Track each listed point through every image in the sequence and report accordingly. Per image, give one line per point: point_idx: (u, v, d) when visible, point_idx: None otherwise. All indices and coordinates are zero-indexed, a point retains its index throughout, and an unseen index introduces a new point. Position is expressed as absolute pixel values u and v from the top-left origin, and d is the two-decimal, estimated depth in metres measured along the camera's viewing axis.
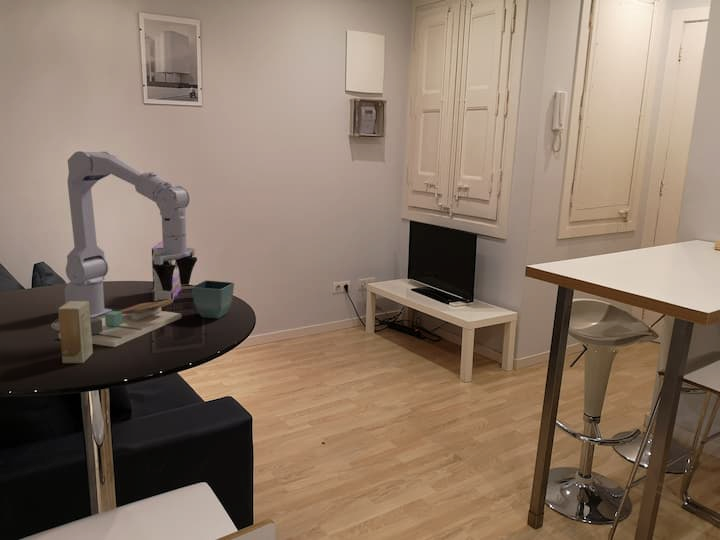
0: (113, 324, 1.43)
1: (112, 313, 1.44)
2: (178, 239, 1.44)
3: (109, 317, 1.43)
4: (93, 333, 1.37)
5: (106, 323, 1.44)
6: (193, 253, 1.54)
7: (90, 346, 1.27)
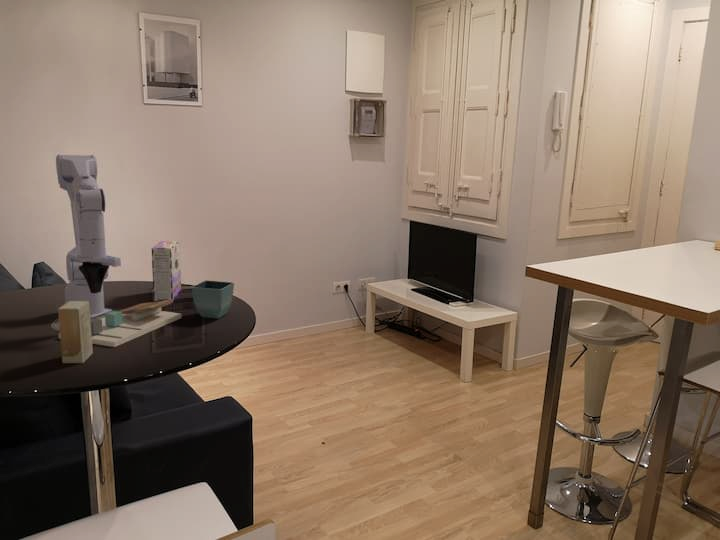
0: (113, 324, 1.43)
1: (112, 313, 1.44)
2: (79, 242, 1.41)
3: (109, 317, 1.43)
4: (93, 333, 1.37)
5: (106, 323, 1.44)
6: (113, 264, 1.40)
7: (90, 346, 1.27)
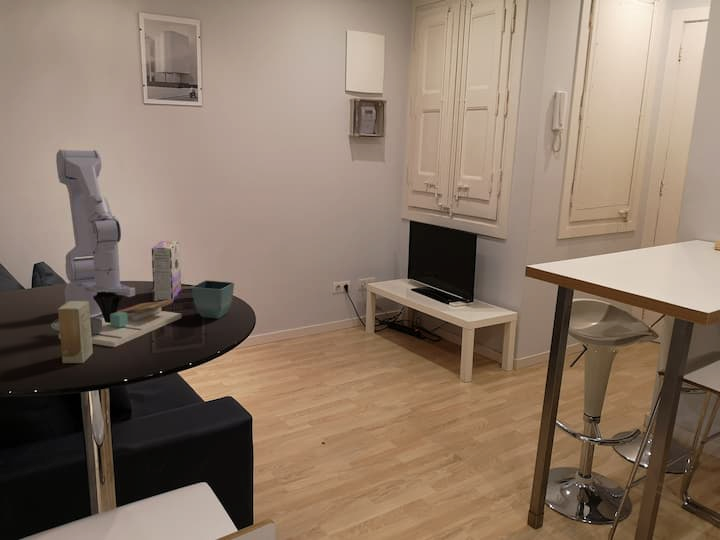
0: (118, 325, 1.43)
1: (117, 314, 1.43)
2: (94, 272, 1.41)
3: (114, 318, 1.43)
4: (93, 333, 1.37)
5: (111, 324, 1.43)
6: (127, 294, 1.41)
7: (90, 346, 1.27)
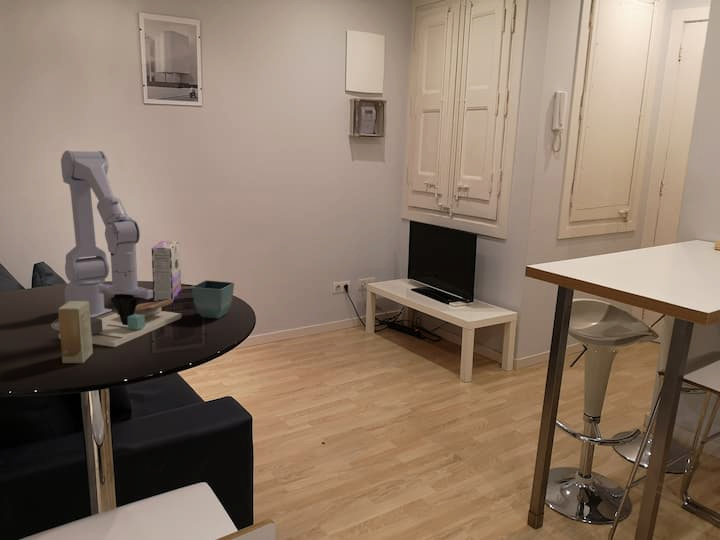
0: (136, 327, 1.41)
1: (135, 316, 1.42)
2: (112, 274, 1.39)
3: (132, 320, 1.41)
4: (93, 333, 1.37)
5: (129, 326, 1.42)
6: (145, 296, 1.39)
7: (90, 346, 1.27)
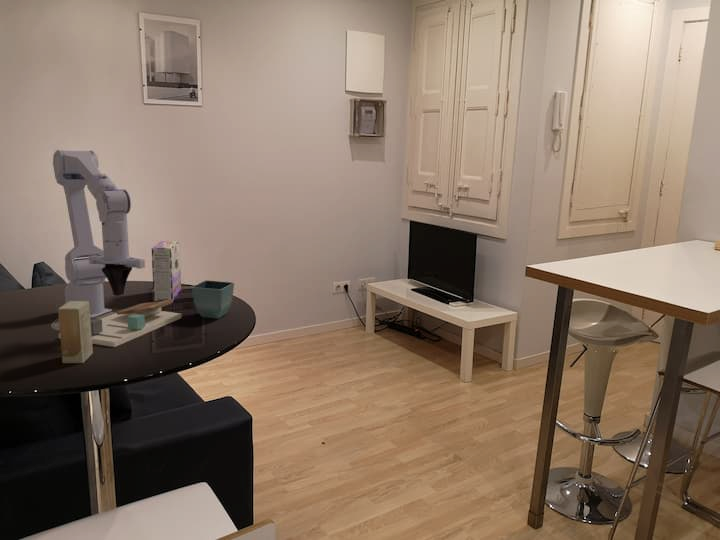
0: (136, 327, 1.41)
1: (135, 316, 1.42)
2: (103, 244, 1.39)
3: (132, 320, 1.41)
4: (93, 333, 1.37)
5: (129, 326, 1.42)
6: (137, 266, 1.39)
7: (90, 346, 1.27)
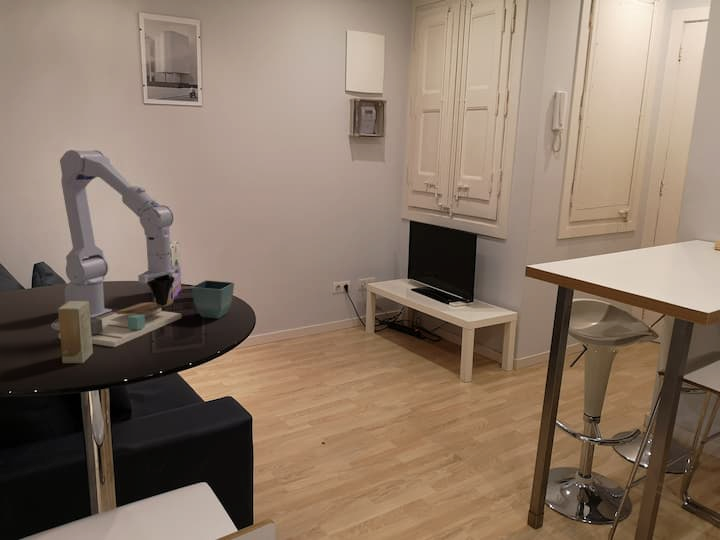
0: (136, 327, 1.41)
1: (135, 316, 1.42)
2: (162, 258, 1.47)
3: (132, 320, 1.41)
4: (93, 333, 1.37)
5: (129, 326, 1.42)
6: (178, 270, 1.56)
7: (90, 346, 1.27)
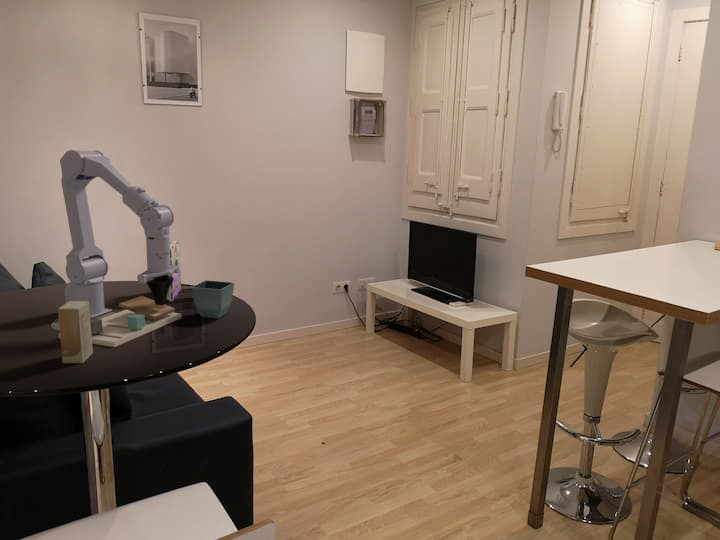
0: (136, 327, 1.41)
1: (135, 316, 1.42)
2: (162, 258, 1.47)
3: (132, 320, 1.41)
4: (93, 333, 1.37)
5: (129, 326, 1.42)
6: (177, 270, 1.56)
7: (90, 346, 1.27)
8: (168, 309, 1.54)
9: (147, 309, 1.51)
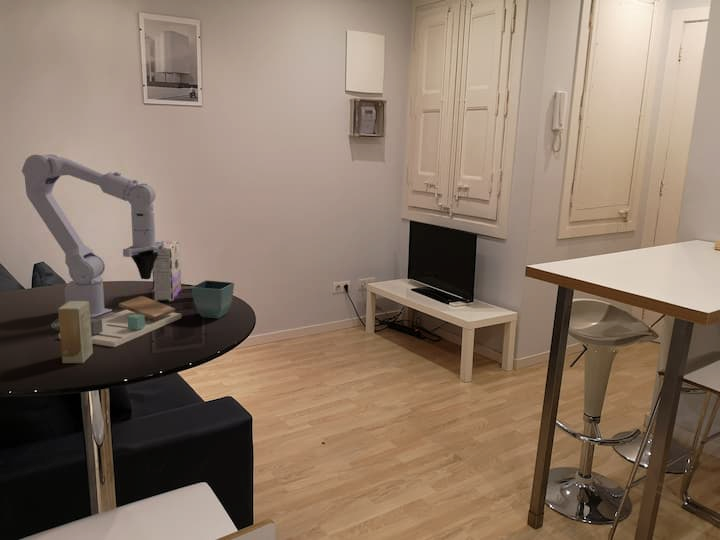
0: (136, 327, 1.41)
1: (135, 316, 1.42)
2: (146, 233, 1.54)
3: (132, 320, 1.41)
4: (93, 333, 1.37)
5: (129, 326, 1.42)
6: (162, 247, 1.63)
7: (90, 346, 1.27)
8: (168, 309, 1.54)
9: (147, 309, 1.51)
